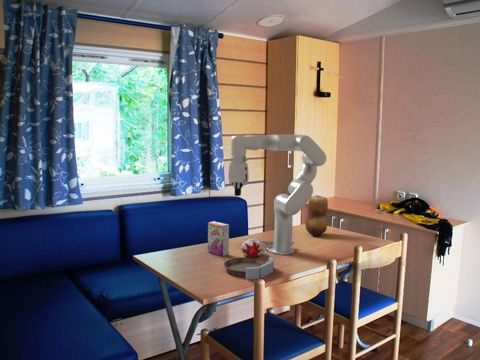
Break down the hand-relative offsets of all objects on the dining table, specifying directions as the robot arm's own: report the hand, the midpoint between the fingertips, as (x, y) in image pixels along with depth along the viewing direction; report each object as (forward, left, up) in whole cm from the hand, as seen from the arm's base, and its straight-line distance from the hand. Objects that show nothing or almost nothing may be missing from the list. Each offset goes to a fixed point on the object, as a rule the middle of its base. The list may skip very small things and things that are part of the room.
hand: (237, 195), depth 222 cm
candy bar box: (+3, -10, -32) cm, 34 cm away
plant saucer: (+14, +16, -33) cm, 39 cm away
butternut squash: (-65, +14, -32) cm, 74 cm away
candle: (-4, +7, -32) cm, 33 cm away
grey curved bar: (+14, +25, -32) cm, 43 cm away
